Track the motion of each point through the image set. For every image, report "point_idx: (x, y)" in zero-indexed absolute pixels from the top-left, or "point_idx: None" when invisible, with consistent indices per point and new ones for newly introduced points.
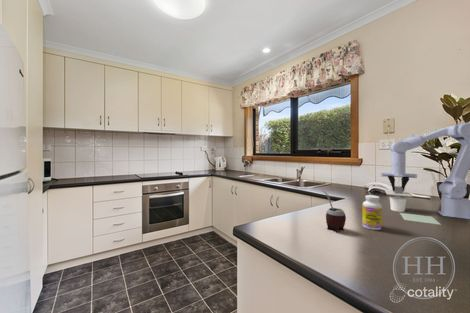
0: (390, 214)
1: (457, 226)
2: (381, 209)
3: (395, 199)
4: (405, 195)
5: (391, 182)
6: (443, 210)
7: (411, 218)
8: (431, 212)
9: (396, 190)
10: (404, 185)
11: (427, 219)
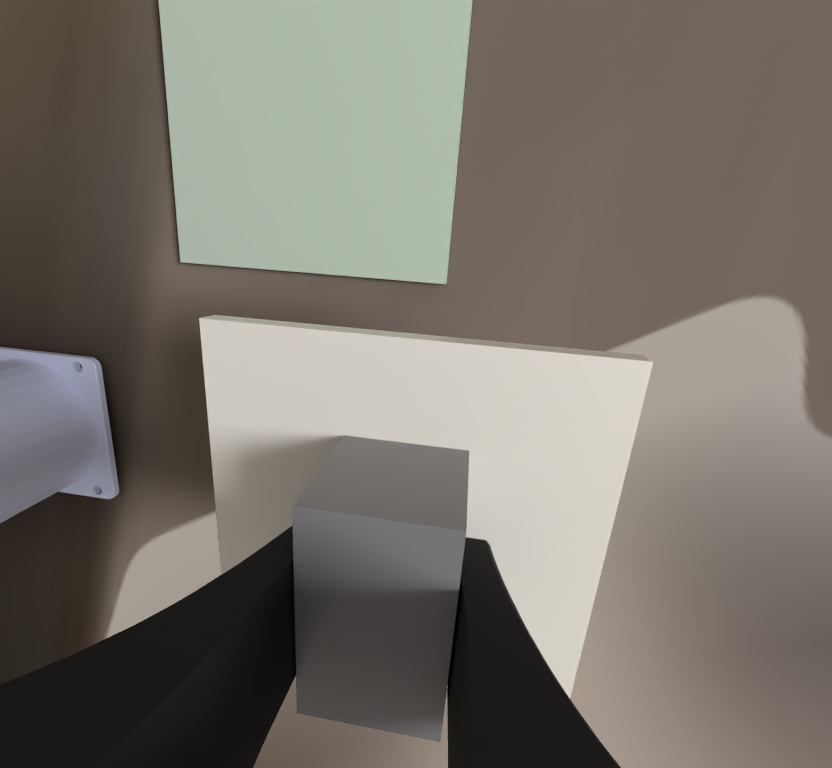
0: (553, 209)
1: (44, 13)
2: None
3: None
4: (318, 328)
5: (586, 739)
6: (53, 416)
7: (381, 57)
8: (164, 476)
9: (442, 478)
10: (208, 599)
11: (236, 104)
